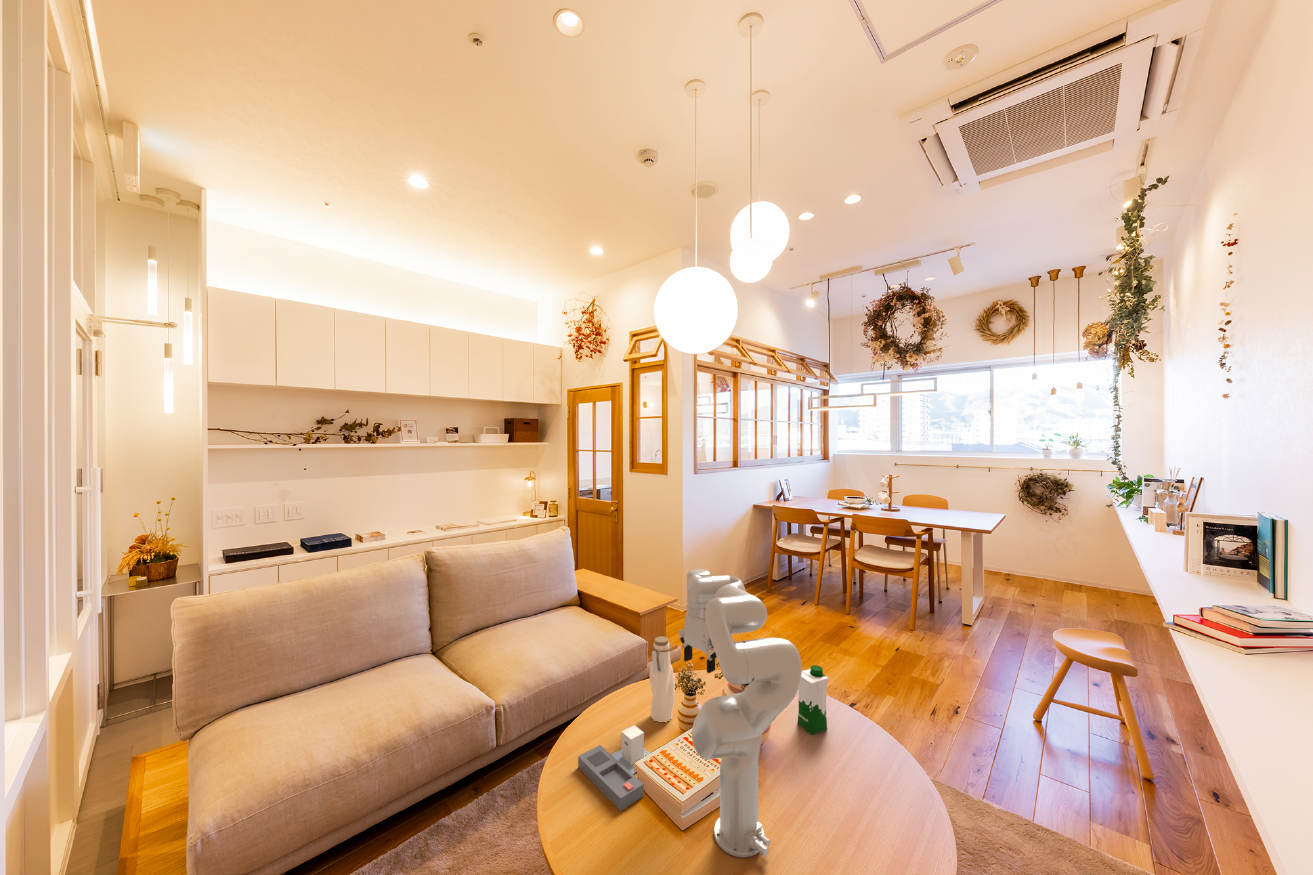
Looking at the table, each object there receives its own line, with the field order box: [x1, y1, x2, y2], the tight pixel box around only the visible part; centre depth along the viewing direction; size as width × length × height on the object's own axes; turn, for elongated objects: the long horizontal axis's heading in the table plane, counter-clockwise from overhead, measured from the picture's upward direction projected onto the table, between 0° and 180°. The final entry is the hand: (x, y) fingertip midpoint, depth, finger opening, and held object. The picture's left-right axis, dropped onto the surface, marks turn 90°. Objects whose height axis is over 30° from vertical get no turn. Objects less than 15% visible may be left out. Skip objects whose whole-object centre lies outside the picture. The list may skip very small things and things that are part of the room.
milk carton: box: [797, 664, 829, 736], centre depth 163 cm, size 9×9×20 cm
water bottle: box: [649, 635, 676, 722], centre depth 168 cm, size 10×9×28 cm
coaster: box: [611, 747, 651, 776], centre depth 147 cm, size 11×11×1 cm
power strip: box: [577, 744, 645, 812], centre depth 138 cm, size 22×8×4 cm, turn 41°
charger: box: [621, 724, 645, 765], centre depth 147 cm, size 5×5×8 cm
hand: (699, 665), depth 145 cm, fingers open, 9 cm apart
